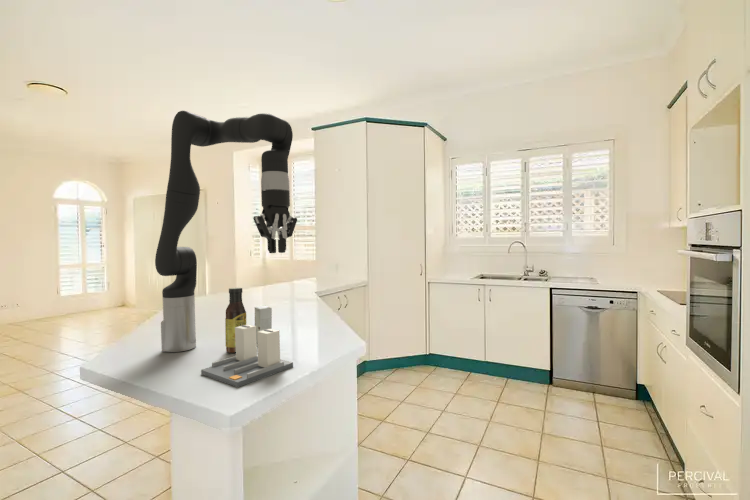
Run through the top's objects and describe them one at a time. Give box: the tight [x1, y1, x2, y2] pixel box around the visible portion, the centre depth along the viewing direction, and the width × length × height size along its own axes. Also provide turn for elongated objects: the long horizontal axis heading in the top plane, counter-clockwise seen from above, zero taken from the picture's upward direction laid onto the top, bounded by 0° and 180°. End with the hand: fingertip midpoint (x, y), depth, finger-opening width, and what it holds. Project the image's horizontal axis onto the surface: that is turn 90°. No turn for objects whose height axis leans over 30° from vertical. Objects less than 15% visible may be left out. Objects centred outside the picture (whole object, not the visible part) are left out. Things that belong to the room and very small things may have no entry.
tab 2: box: [257, 328, 281, 368], centre depth 97 cm, size 4×4×9 cm
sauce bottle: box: [224, 287, 247, 354], centre depth 117 cm, size 7×6×20 cm
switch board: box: [200, 352, 294, 388], centre depth 98 cm, size 17×16×2 cm
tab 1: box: [235, 324, 258, 361], centre depth 103 cm, size 4×4×9 cm
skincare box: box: [254, 305, 273, 344], centre depth 127 cm, size 6×4×12 cm
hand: (277, 252), depth 102 cm, fingers open, 2 cm apart
